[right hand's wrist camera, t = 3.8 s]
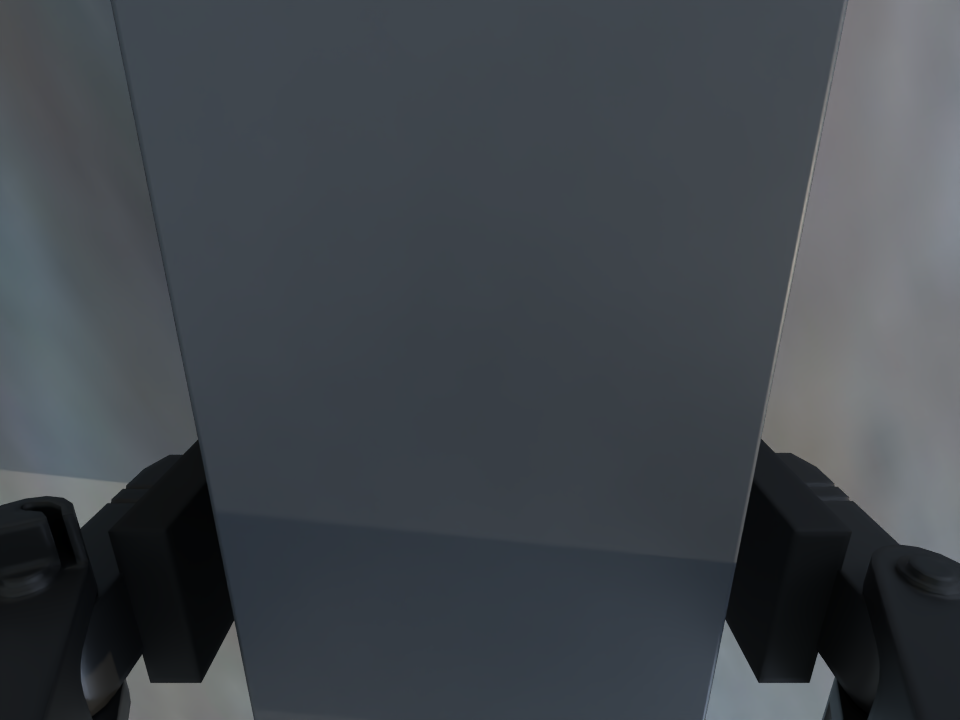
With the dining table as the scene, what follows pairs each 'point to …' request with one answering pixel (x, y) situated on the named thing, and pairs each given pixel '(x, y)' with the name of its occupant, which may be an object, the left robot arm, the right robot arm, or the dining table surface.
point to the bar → (479, 331)
